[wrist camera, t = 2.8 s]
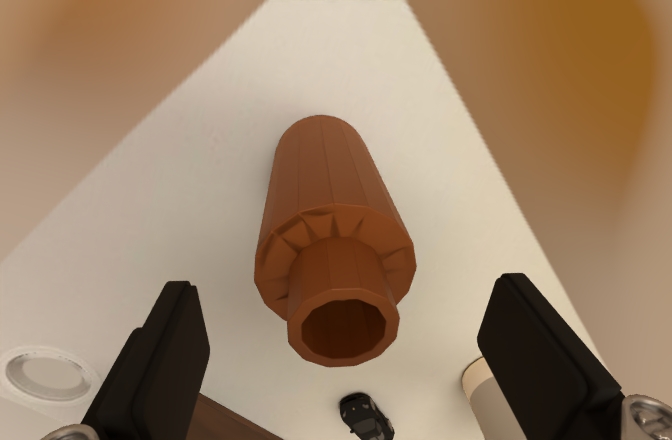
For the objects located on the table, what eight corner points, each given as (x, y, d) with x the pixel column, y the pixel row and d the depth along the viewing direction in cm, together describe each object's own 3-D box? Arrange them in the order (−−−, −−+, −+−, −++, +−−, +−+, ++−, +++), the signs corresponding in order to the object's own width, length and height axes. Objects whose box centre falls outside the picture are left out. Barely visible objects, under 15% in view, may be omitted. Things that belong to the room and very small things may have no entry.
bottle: (260, 176, 22) (211, 361, 10) (303, 96, 20) (306, 216, 8) (336, 214, 24) (368, 407, 12) (383, 144, 21) (480, 300, 10)
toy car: (333, 400, 34) (335, 421, 32) (365, 387, 34) (368, 409, 32) (366, 435, 38) (370, 457, 36) (395, 425, 38) (400, 446, 36)
